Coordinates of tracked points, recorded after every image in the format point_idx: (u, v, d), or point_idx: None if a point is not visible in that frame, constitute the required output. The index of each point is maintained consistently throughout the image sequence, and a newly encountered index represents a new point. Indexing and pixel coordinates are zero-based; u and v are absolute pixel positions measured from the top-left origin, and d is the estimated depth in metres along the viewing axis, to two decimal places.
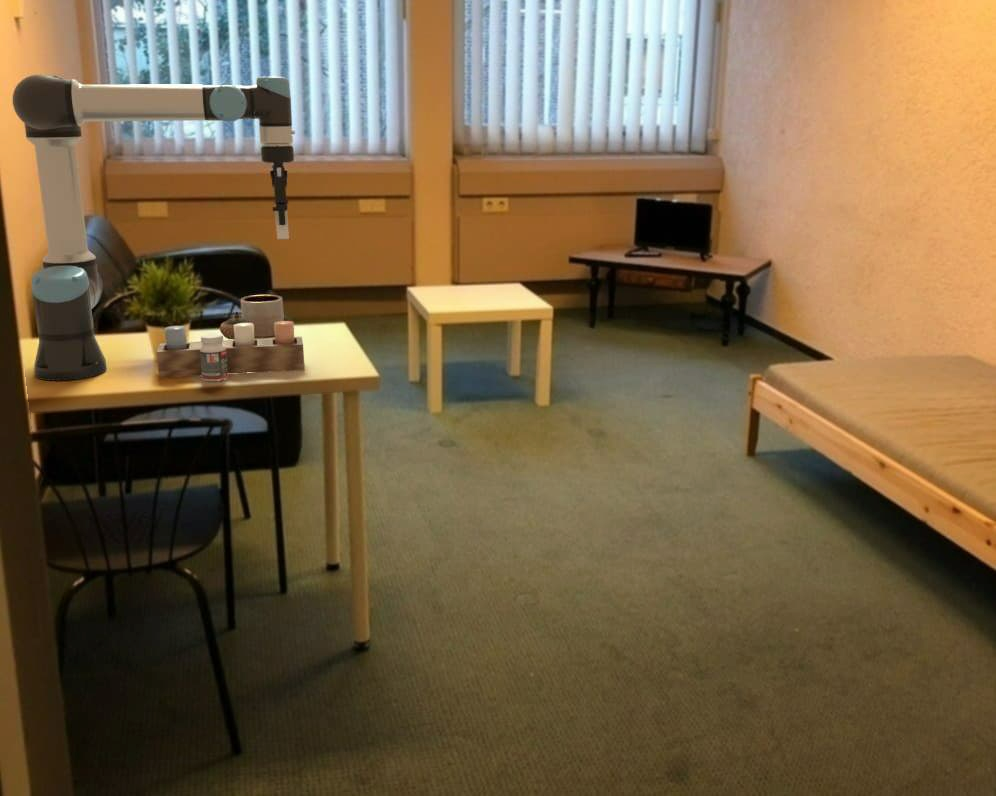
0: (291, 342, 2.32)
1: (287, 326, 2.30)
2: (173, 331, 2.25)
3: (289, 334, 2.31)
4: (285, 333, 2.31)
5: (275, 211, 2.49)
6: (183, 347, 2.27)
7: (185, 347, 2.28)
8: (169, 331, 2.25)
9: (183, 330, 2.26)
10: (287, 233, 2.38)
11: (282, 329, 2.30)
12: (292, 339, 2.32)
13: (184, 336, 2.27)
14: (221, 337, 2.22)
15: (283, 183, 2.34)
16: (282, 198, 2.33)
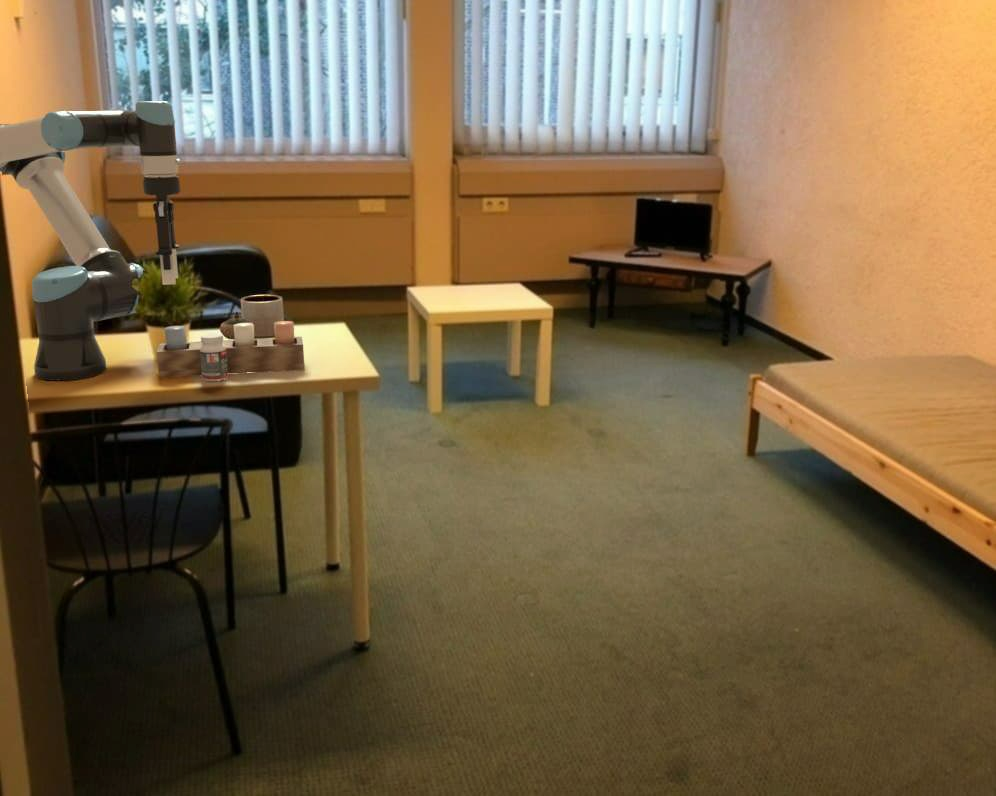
0: (291, 342, 2.32)
1: (287, 326, 2.30)
2: (173, 331, 2.25)
3: (289, 334, 2.31)
4: (285, 333, 2.31)
5: None
6: (183, 347, 2.27)
7: (185, 347, 2.28)
8: (169, 331, 2.25)
9: (183, 330, 2.26)
10: (173, 278, 2.20)
11: (282, 329, 2.30)
12: (292, 339, 2.32)
13: (184, 336, 2.27)
14: (221, 337, 2.22)
15: (166, 225, 2.14)
16: (165, 242, 2.15)
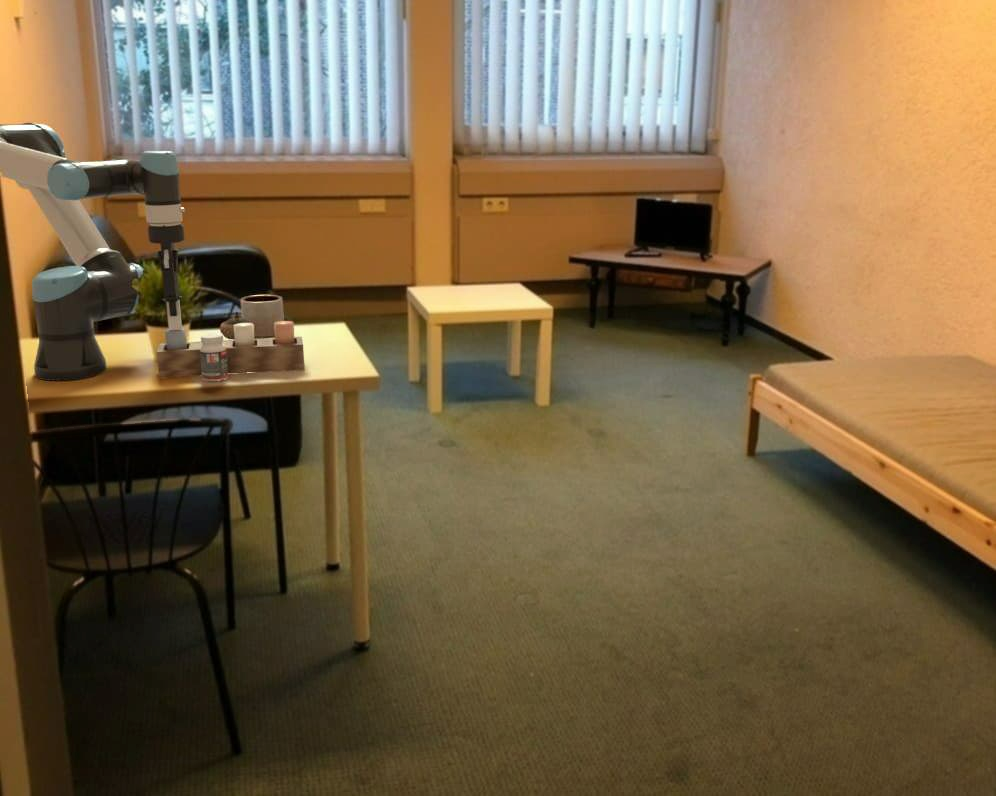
0: (291, 342, 2.32)
1: (287, 326, 2.30)
2: (173, 333, 2.25)
3: (289, 334, 2.31)
4: (285, 333, 2.31)
5: (167, 307, 2.25)
6: None
7: None
8: (169, 333, 2.25)
9: (183, 332, 2.27)
10: (179, 324, 2.26)
11: (282, 329, 2.30)
12: (292, 339, 2.32)
13: (184, 338, 2.27)
14: (221, 337, 2.22)
15: (172, 276, 2.19)
16: (171, 291, 2.21)
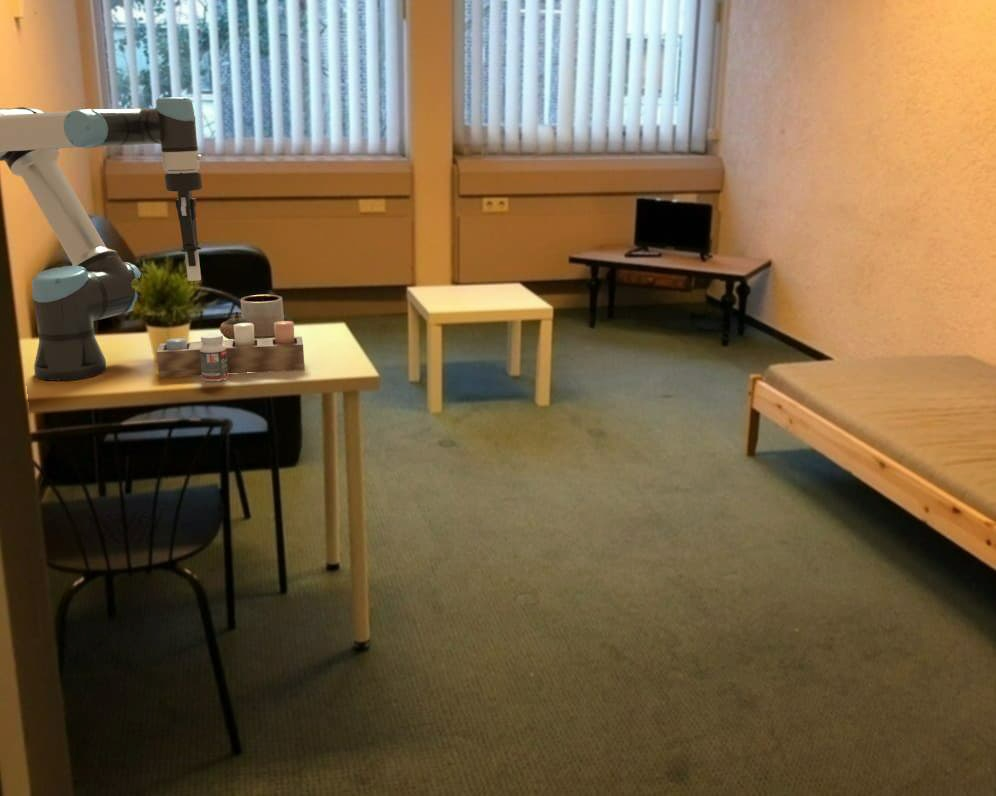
0: (291, 342, 2.32)
1: (287, 326, 2.30)
2: (174, 343, 2.26)
3: (289, 334, 2.31)
4: (285, 333, 2.31)
5: None
6: None
7: None
8: (170, 343, 2.26)
9: (184, 342, 2.27)
10: (198, 274, 2.23)
11: (282, 329, 2.30)
12: (292, 339, 2.32)
13: (185, 348, 2.28)
14: (221, 337, 2.22)
15: (189, 224, 2.16)
16: (189, 240, 2.18)
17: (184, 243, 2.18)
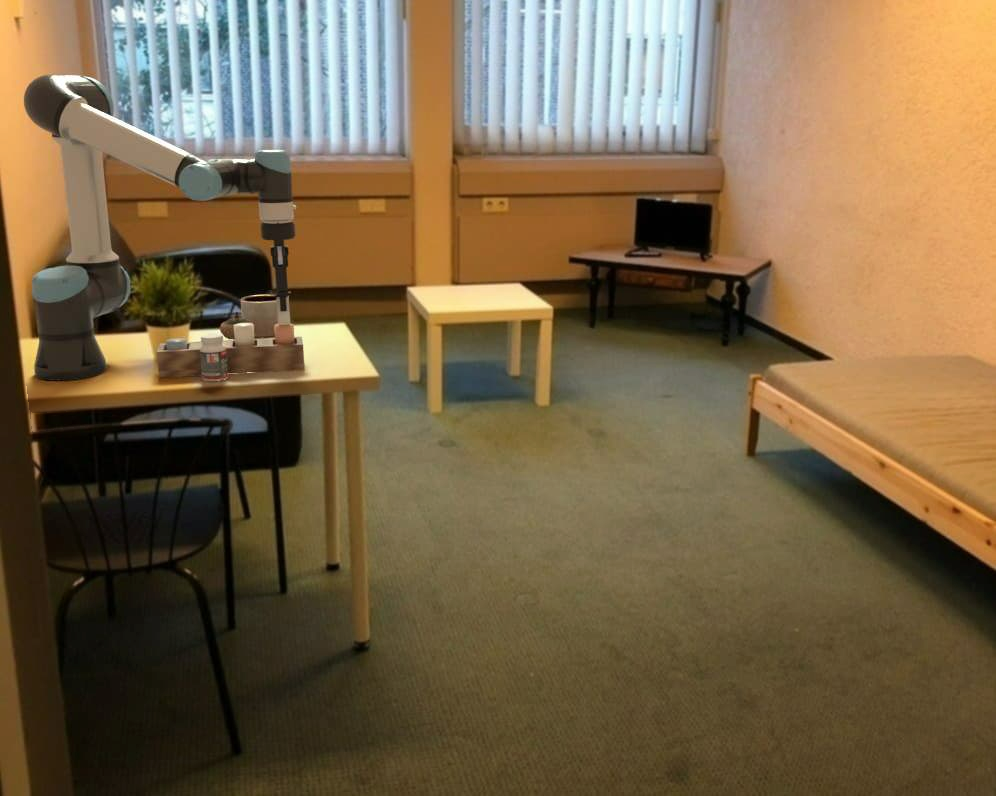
0: None
1: (287, 329, 2.31)
2: (174, 343, 2.26)
3: (289, 336, 2.31)
4: (285, 335, 2.31)
5: (277, 303, 2.30)
6: None
7: None
8: (170, 343, 2.26)
9: (184, 342, 2.27)
10: (288, 319, 2.31)
11: (283, 331, 2.30)
12: (292, 341, 2.32)
13: (185, 348, 2.28)
14: (221, 337, 2.22)
15: (285, 272, 2.24)
16: (283, 287, 2.26)
17: (278, 290, 2.26)
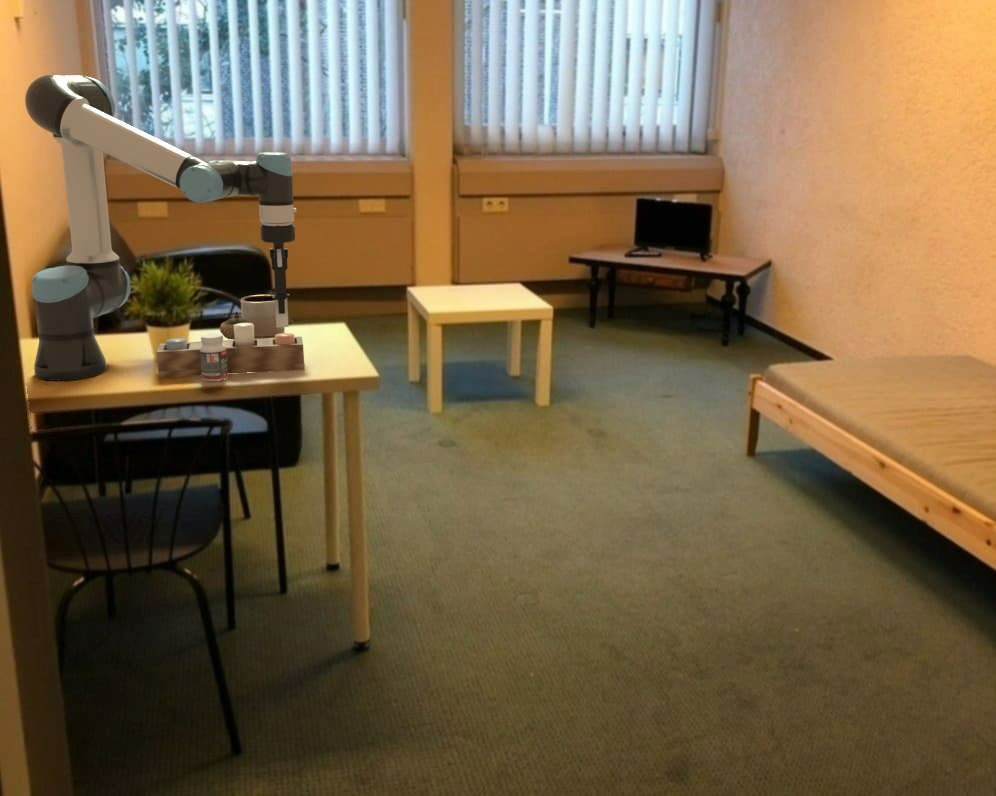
0: None
1: (288, 339, 2.31)
2: (174, 343, 2.26)
3: None
4: None
5: None
6: None
7: None
8: (170, 343, 2.26)
9: (184, 342, 2.27)
10: (287, 321, 2.32)
11: (283, 341, 2.31)
12: None
13: (185, 348, 2.28)
14: (221, 337, 2.22)
15: (284, 275, 2.24)
16: (282, 289, 2.26)
17: (277, 292, 2.26)
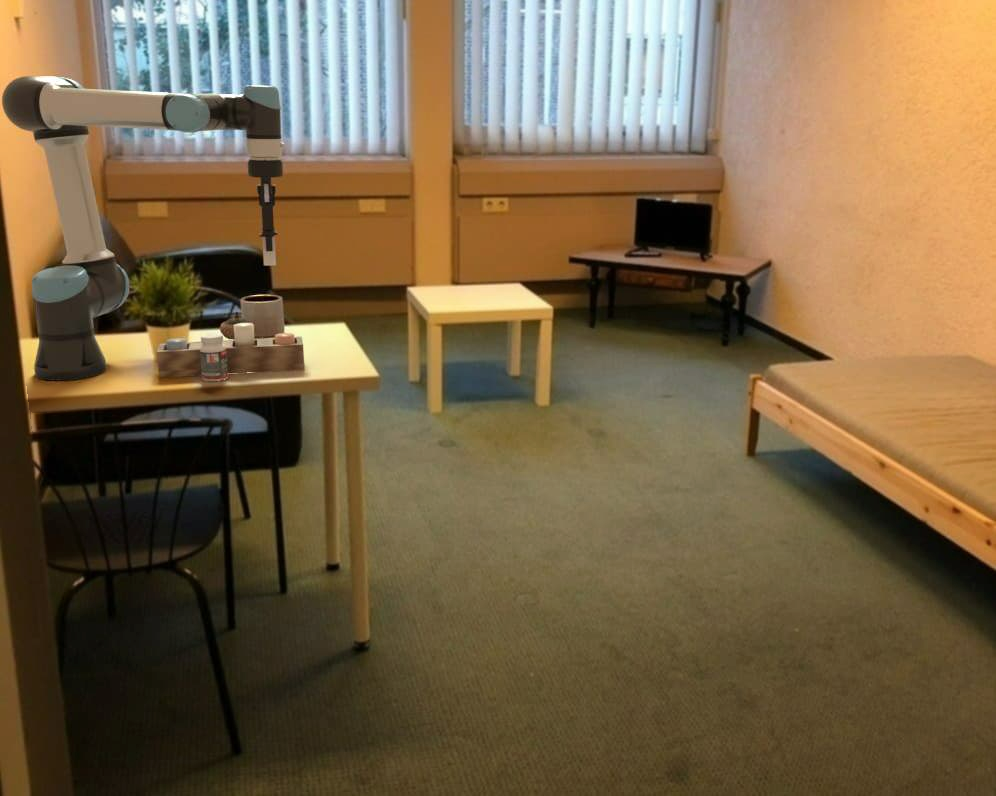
0: None
1: (288, 339, 2.31)
2: (174, 343, 2.26)
3: None
4: None
5: (263, 243, 2.27)
6: None
7: None
8: (170, 343, 2.26)
9: (184, 342, 2.27)
10: (274, 259, 2.28)
11: (283, 341, 2.31)
12: None
13: (185, 348, 2.28)
14: (221, 337, 2.22)
15: (271, 210, 2.21)
16: (269, 225, 2.23)
17: (264, 228, 2.23)
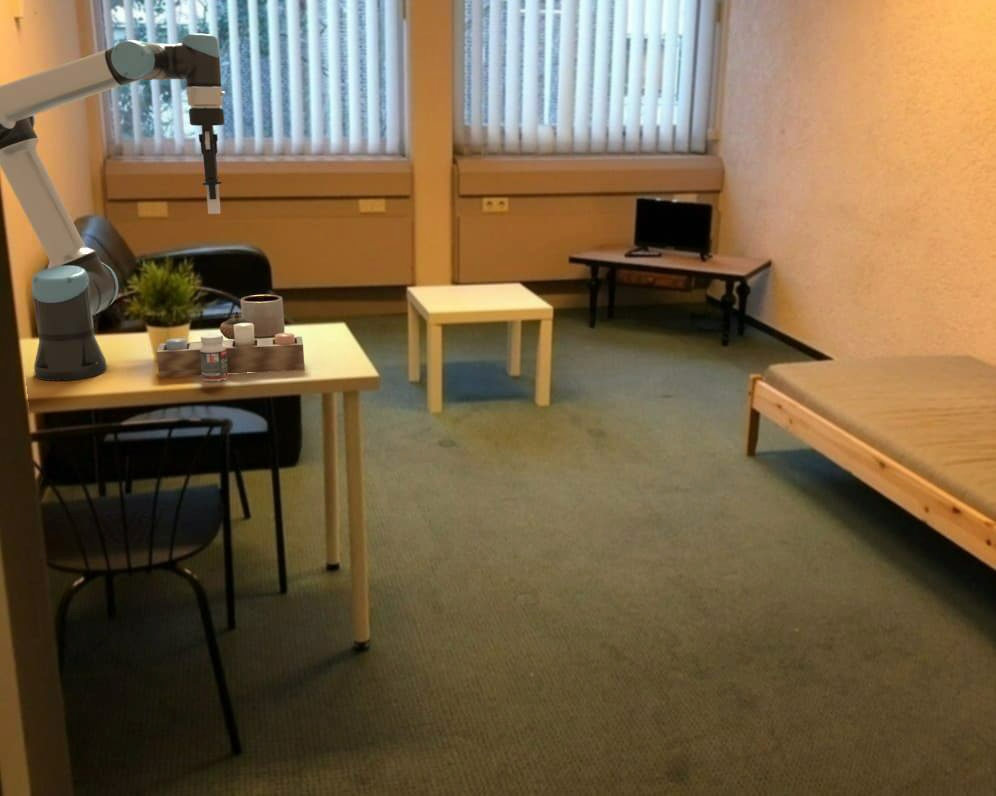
0: None
1: (288, 339, 2.31)
2: (174, 343, 2.26)
3: None
4: None
5: (206, 191, 2.31)
6: None
7: None
8: (170, 343, 2.26)
9: (184, 342, 2.27)
10: (218, 208, 2.32)
11: (283, 341, 2.31)
12: None
13: (185, 348, 2.28)
14: (221, 337, 2.22)
15: (213, 157, 2.25)
16: (212, 173, 2.26)
17: (206, 176, 2.27)
